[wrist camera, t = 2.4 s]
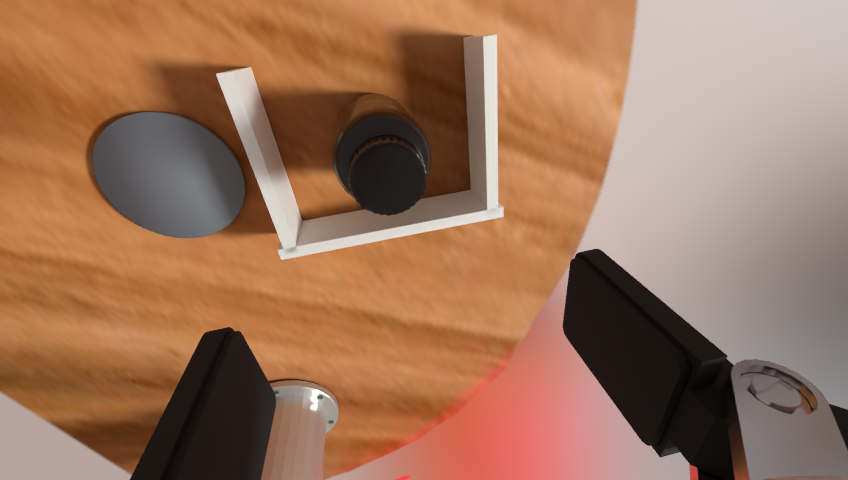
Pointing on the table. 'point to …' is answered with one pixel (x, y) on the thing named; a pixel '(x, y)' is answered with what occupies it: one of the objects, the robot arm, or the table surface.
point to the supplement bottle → (381, 154)
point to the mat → (169, 174)
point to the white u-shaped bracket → (363, 223)
